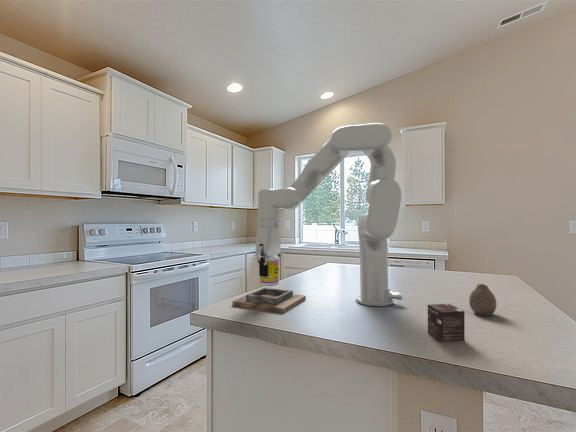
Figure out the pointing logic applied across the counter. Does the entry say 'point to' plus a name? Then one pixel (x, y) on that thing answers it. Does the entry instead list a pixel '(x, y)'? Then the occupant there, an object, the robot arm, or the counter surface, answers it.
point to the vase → (482, 301)
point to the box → (446, 323)
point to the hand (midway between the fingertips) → (269, 274)
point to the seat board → (270, 300)
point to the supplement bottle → (271, 272)
